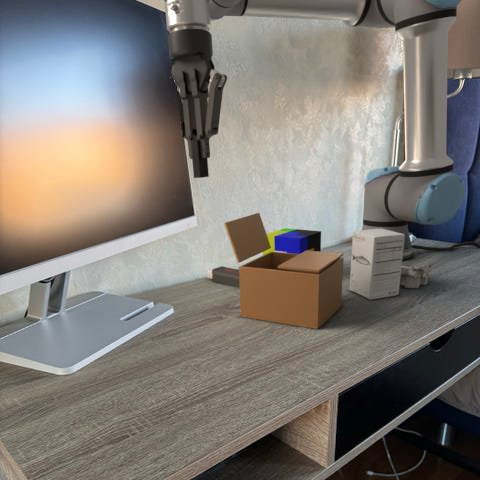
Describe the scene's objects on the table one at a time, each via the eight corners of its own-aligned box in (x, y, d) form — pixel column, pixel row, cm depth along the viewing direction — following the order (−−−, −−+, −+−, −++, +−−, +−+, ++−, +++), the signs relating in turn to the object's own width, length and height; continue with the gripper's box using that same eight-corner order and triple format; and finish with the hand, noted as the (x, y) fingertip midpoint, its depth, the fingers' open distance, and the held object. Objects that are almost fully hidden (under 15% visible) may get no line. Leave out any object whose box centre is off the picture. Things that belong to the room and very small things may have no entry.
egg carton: (432, 283, 97) (434, 265, 95) (412, 290, 93) (414, 271, 91) (390, 274, 105) (391, 257, 103) (370, 280, 101) (371, 262, 99)
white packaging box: (348, 290, 94) (351, 230, 90) (377, 285, 97) (382, 227, 92) (369, 300, 88) (373, 236, 83) (400, 295, 90) (406, 233, 86)
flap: (239, 262, 79) (237, 263, 79) (271, 248, 89) (269, 248, 89) (225, 222, 77) (223, 223, 77) (259, 212, 88) (257, 213, 88)
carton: (240, 316, 82) (238, 262, 79) (271, 296, 93) (270, 247, 89) (317, 329, 75) (319, 270, 71) (341, 305, 86) (343, 253, 82)
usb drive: (242, 288, 99) (241, 276, 98) (204, 279, 107) (203, 268, 106) (256, 282, 103) (256, 271, 102) (219, 274, 110) (219, 264, 109)
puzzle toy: (299, 282, 102) (299, 238, 98) (263, 276, 107) (262, 234, 104) (320, 272, 109) (321, 231, 105) (285, 267, 115) (285, 228, 111)
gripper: (145, 35, 76) (162, 179, 84) (207, 20, 69) (218, 178, 78) (173, 42, 82) (186, 176, 90) (233, 29, 75) (241, 175, 84)
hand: (201, 177), depth 84 cm, fingers closed
